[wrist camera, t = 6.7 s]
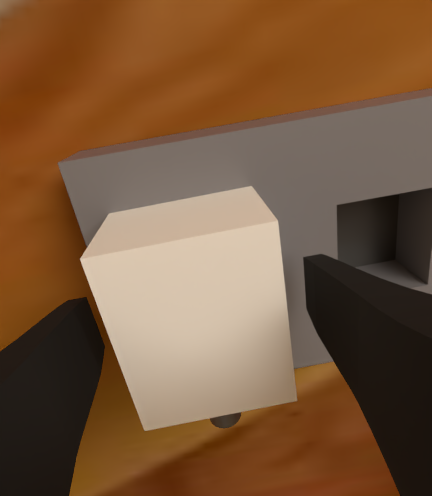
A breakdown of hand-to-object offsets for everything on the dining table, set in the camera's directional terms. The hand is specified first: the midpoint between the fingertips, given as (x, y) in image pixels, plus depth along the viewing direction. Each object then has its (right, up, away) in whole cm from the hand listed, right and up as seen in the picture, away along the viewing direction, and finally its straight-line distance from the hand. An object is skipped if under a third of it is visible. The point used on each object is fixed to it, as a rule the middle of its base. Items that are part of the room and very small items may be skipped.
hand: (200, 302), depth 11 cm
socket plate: (+3, +2, +4) cm, 5 cm away
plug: (0, +2, +3) cm, 3 cm away
